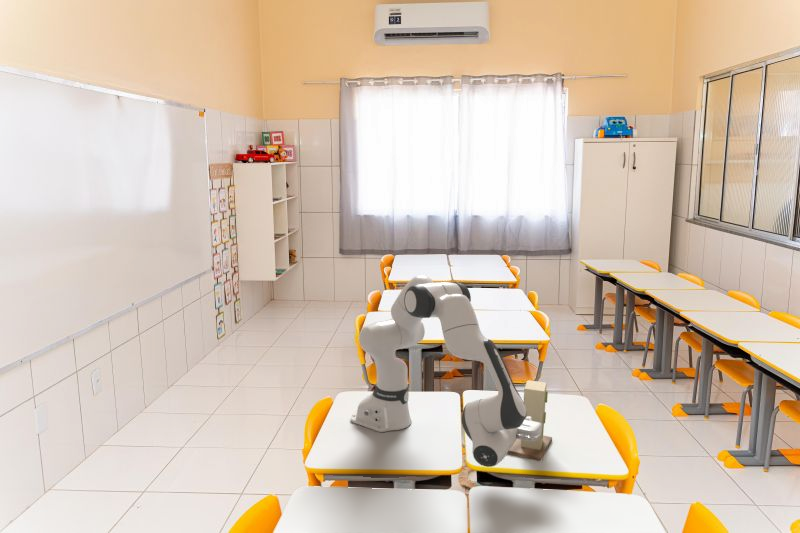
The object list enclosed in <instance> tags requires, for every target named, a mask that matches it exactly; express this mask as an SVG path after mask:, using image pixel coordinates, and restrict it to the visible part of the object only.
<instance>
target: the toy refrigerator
mask: <svg viewBox="0 0 800 533" xmlns="http://www.w3.org/2000/svg"><path fill="white" fill-rule="evenodd" d="M548 392H549V391H547V382H546V381H545V382H544V381H536V380H526V383H525V385H524V391H523V393H524V394H523V402H524V405H525V408H526V413H527V414H526V417H527V416H529V417H532V421H535V422H540V423H541V424H542V434H541V435H540V437H539V438H538V439H537V440H535V441H525V440H521V447H525V448H531V449H537V450H541V446H542V441H543V435H544V429H545V424H546V420H547V419H546V418H547V412H546V403H548V397H549V396H548V394H549V393H548ZM525 420H526V418H525Z"/></svg>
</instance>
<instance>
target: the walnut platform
mask: <svg viewBox="0 0 800 533" xmlns="http://www.w3.org/2000/svg"><path fill="white" fill-rule="evenodd" d="M552 441H553V437H552V436H548V435H544V434H543V441H542V446H541V450H537V449H531V448H525V447H521V440H520V439H516V441H515V442H514V444H513V445H512V447H511V448H510V449H509V451H508V453H509V455H512V456H516V457H519V458H520V457H521V458H525V459H530V460H535V461H538V462H539V461H540V462H541V461H542V459H543V457H544V456H545V454H546V452H547V450H548V449H549V447H550V444H551V443H552Z"/></svg>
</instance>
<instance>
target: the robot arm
mask: <svg viewBox="0 0 800 533" xmlns="http://www.w3.org/2000/svg"><path fill="white" fill-rule="evenodd" d="M471 299H472V297H471V292H470V290H469V288H468V286H466V285H465V284H464V283H461V282H457V281H452V282H449V281H436V282H434V281H433V279H432V278H431V277H428V276H427V275H424V274H423V275H421V274H419V275H415V276H414V277H413V278H411V279H410V280H409V281H408V282H407V283H406V285H405V286H404V287H403V288H402V289H401V291H400V292H399V294H398V295H397V297H396V298H395V300H394V302H393V304H392V306H391V307H390V316H391V318H390V319H386V320H381V321H375V322H372V323H370V324H368V325H366V326H364V327H362V328H361V330H360V332H359V334H358V342H359V346H360V347H361V349H362V350H363V351H364V352H365V353H367V354H368V355H369V356H370V357H371V358H372V359H373V361H374V364H375V367H376V368H375V369H376V382H375V384H373V385H372V387H370V392H372V393H370V394H369V395H367V396H366V397H365V398H363V399H362V400H361V401H360V402H359V404H358V406H357V409H356V411H355V412H354V413H352V414H351V417H350V422H351V423H354V424H356V425H360V426H362V427H365V428H368V429H370V430H373V431H375V432H379V433H384V432H385V433H386V432H389V431H399V430H403V429H406V428H408V427H410V426H411V424H412V418H411V414H410V409H409V397H410V396H409V394H410V393H409V385H408V366H407V364H406V362H405V361H404V360H403V359H401V358H398V357H397V355H396V351H397V350H401V349H404V348H406V349H407V348H410V347H412V346H414V345H415V346H416V345H417V344H419V343H421V342H422V341H423V340H424V337H425V333H426V331H425V325H424V323H423V322H422V320H423V319H426V318H427V319H430V318H437V319H439V321H440V326H441V330H442V335H443V340H444V343H445V346H446V350H448V352H449V353H450V354H451V355H453V356H454V357H456V358H459V359H463V360H467V361H468V360H469V361H477V362H480V363H483V364H484V365H485V366H486V367H487V369H488V370H489V371H488V372H489V373H490V375H491V378H492V379H493V380H492V381H493V382H494V385H495V387H496V389H497V395H493V396H489V397H485V398H480V399H476V400H474V401H470V402H467V403H466V404H465V405H464V406H463V410H462V414H461V424H462V428H463V430H464V433H465V434H466V436H467V437H468V438H469V439H470V441H471V442H472V450H471V451H472V457H473V458H474V460H475V462H476V463H478V464H479V465H480V466H483V467H487V468H490V467H491V468H492V467H495V466H497V465H498V464H500V463H501V462H502V461H503V460H504V459H505V457H506V456H507V455H508V454H507V453H508V451H509V449H510V448H511V447H512V445H513V444H514V442H515V441H516V439H520V440H525V441H535V440H537V439H538V438H539V437H540V435H541V434H542V424H541V423H540V422H535V421H532V417H529V416H527V417H526V414H527V413H526V408H525V405H524V399H522V397H521V395H520V394H519V391H518V390H517V388H516V386H515V384H514V382H513V379H512V377H511V375H510V373H509V371H508V368H507V367H506V364H505V361H504V359H503V357H502V355H501V353H500V351H499V348H498V347H497V345H496V344H495V343H494V341H493V340H491V339H489V338H486V337H485V335H484V334H483V332H482V331H481V329H480V328H481V327H480V326H479V322H478V319H477V315H476V313H475V311H474V307H473V305H472V303H471V301H472V300H471ZM525 418H526V420H525Z"/></svg>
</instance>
